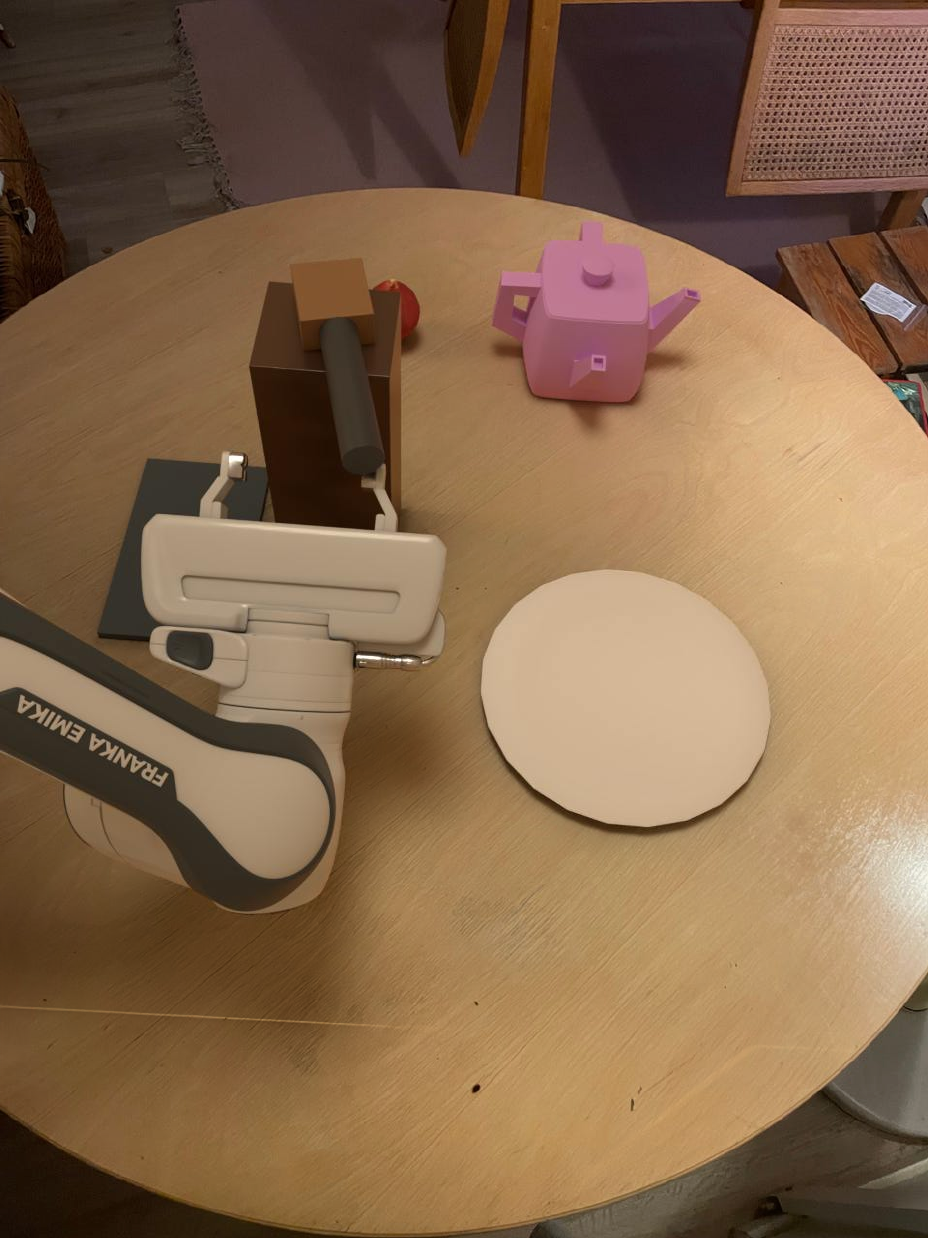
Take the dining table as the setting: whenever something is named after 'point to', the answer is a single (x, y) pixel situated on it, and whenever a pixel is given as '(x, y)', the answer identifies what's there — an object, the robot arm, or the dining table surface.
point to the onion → (404, 305)
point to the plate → (625, 698)
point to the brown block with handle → (342, 351)
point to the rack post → (322, 416)
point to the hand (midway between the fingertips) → (305, 458)
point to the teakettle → (587, 318)
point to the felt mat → (172, 494)
